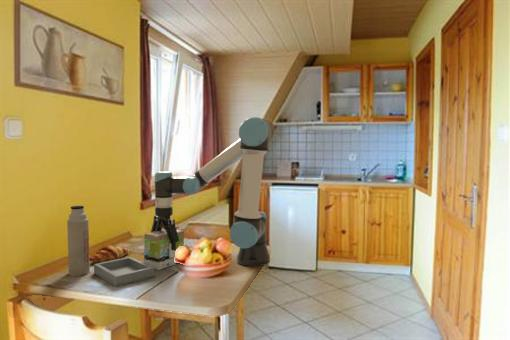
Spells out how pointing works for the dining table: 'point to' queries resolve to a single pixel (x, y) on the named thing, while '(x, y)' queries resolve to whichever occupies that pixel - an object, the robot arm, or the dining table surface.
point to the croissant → (109, 254)
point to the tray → (124, 271)
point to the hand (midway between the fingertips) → (164, 254)
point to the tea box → (160, 248)
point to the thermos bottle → (78, 242)
